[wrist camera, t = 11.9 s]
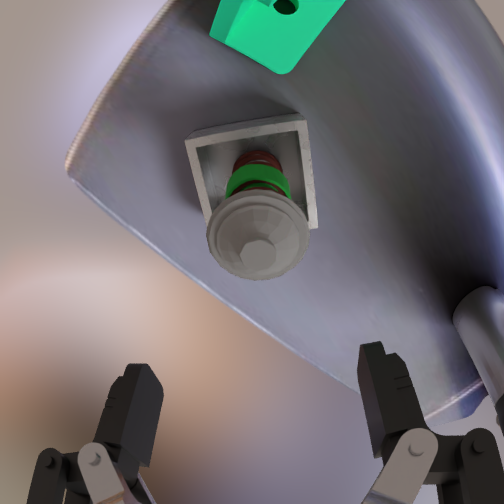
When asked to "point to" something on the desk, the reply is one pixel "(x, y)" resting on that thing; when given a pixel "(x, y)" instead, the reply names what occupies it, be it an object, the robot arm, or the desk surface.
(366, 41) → the desk surface
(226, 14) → the camera mount
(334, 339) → the desk surface
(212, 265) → the desk surface
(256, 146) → the square tray
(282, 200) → the shock absorber
